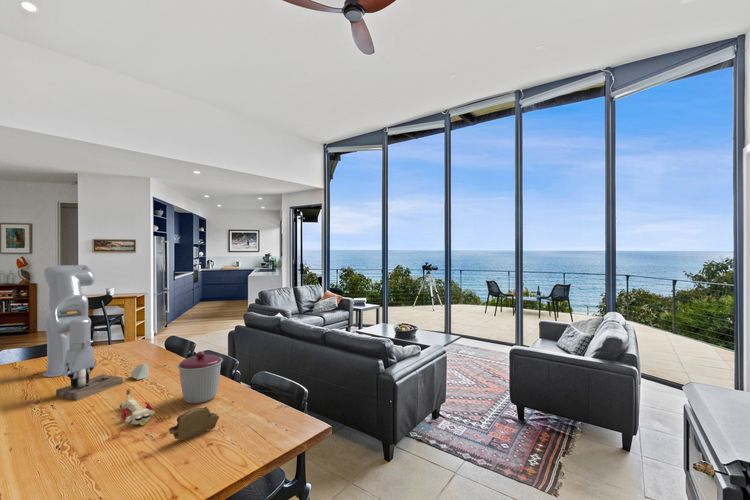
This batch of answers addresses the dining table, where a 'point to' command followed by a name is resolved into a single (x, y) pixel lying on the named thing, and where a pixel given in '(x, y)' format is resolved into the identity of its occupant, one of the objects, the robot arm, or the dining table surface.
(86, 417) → the dining table surface
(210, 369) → the canister
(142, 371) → the seashell
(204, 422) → the wooden carving
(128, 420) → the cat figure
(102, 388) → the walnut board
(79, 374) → the grey domed cylinder
